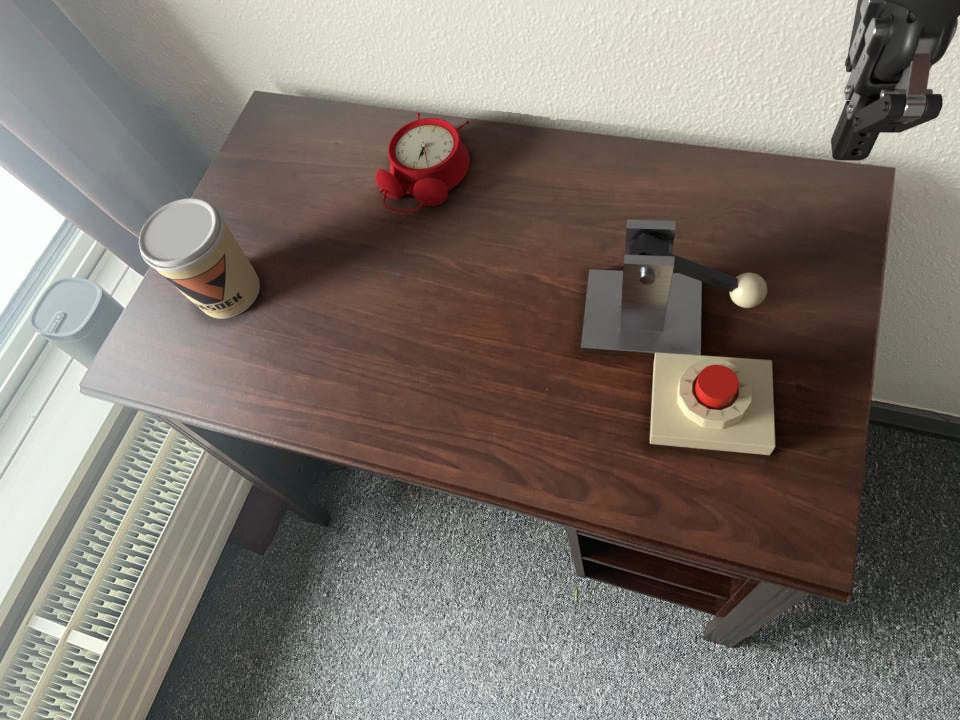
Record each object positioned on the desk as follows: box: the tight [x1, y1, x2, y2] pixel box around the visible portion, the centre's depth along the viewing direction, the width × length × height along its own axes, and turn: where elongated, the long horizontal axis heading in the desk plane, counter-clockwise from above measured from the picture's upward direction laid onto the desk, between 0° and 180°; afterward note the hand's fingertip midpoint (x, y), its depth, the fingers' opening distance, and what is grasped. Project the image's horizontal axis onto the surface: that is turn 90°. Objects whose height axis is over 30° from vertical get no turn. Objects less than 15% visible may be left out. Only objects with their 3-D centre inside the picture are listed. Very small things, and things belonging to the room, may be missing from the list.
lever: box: [629, 233, 768, 309], centre depth 64 cm, size 14×3×3 cm, turn 81°
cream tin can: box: [138, 197, 261, 320], centre depth 77 cm, size 9×9×12 cm
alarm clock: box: [374, 112, 471, 214], centre depth 85 cm, size 10×6×15 cm
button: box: [695, 365, 739, 408], centre depth 63 cm, size 4×4×2 cm
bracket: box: [580, 219, 703, 359], centre depth 67 cm, size 12×10×13 cm
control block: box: [649, 352, 776, 456], centre depth 65 cm, size 11×9×4 cm
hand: (847, 151), depth 45 cm, fingers closed
